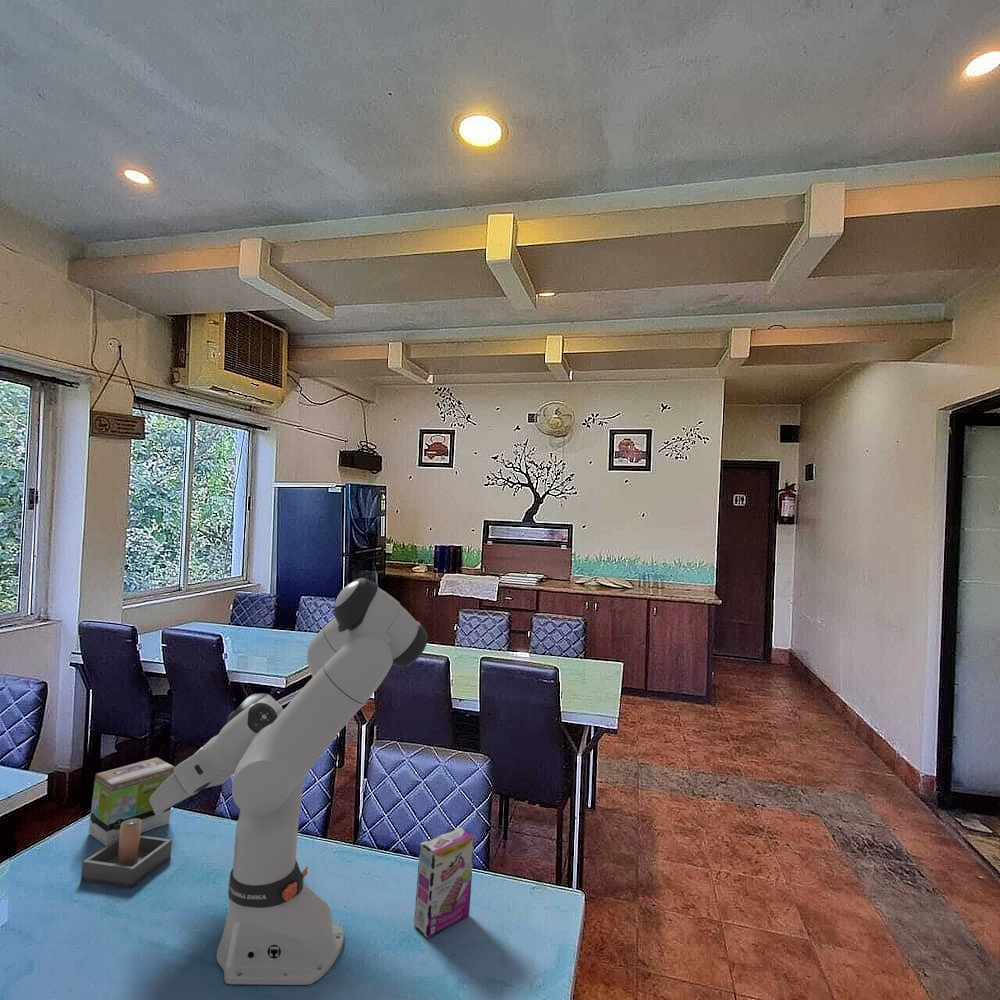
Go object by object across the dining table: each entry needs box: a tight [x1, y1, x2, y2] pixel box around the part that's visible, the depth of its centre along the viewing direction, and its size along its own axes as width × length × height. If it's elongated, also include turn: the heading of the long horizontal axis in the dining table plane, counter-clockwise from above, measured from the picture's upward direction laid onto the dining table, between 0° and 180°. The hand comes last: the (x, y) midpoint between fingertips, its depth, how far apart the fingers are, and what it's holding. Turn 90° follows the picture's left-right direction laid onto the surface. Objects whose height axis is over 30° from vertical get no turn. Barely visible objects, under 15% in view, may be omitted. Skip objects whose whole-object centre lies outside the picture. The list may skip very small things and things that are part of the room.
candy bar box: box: [413, 826, 475, 939], centre depth 118 cm, size 11×5×16 cm, turn 135°
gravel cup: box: [117, 818, 142, 866], centre depth 129 cm, size 4×4×9 cm
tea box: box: [88, 757, 176, 847], centre depth 146 cm, size 15×10×15 cm, turn 147°
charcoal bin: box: [80, 834, 173, 889], centre depth 129 cm, size 12×12×4 cm
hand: (174, 801), depth 126 cm, fingers open, 8 cm apart
